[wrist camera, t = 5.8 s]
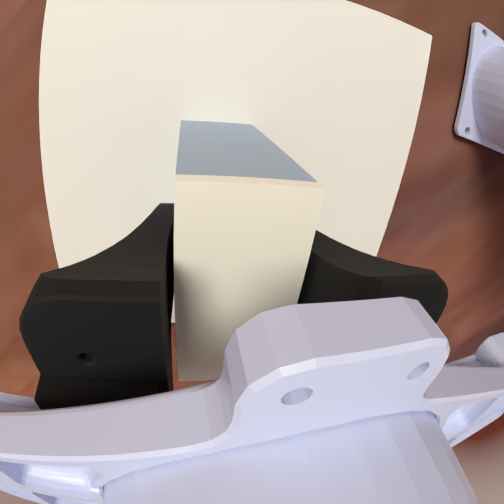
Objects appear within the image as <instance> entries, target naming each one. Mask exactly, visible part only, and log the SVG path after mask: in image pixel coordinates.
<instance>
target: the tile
mask: <svg viewBox="0 0 504 504" xmlns="http://www.w3.org/2000/svg"><path fill="white" fill-rule="evenodd" d="M431 40H432V36H431V35H429V34H427V33H425V32H423V31H421V30H419V29H417V28H415V27H413V26H410V25H408V24H406V23H404V22H402V21H399V20H397V19H395V18H392V17H390V16H387V15H385V14H382V13H380V12H377V11H375V10H372V9H369V8H367V7H364V6H361V5H358V4H355V3H352V2H349V1H346V0H47V4H46V10H45V17H44V25H43V34H42V44H41V57H40V76H39V125H40V144H41V158H42V169H43V178H44V187H45V194H46V202H47V208H48V215H49V221H50V226H51V232H52V237H53V242H54V247H55V252H56V257H57V261H58V265H59V268H63V267H66V266H69V265H72V264H75V263H77V262H80V261H83V260H85V259H87V258H90V257H92V256H94V255H96V254H98V253H100V252H102V251H103V250H105V249H107V248H109V247H111V246H113V245H114V244H116V243H117V242H119V241H120V240H122V239H123V238H125V237H126V236H127V235H129V234H130V233H131V232H132V231H133V230H134V229H136V228H137V227H138V226H139V225H140V224H141V223H142V222H143V221H144V220H145V219H146V218H147V217H148V216H149V215H150V214H151V213H152V211H153V210H154V209H155V208H156V207H157V206H158V205H159V204H160V203H174V196H175V175H176V164H177V153H178V143H179V134H180V125H181V120H188V121H210V122H226V123H239V124H251V125H253V126H254V127H255V128H257V129H258V130H259V131H260V132H261V133H263V134H264V135H265V136H266V137H267V138H269V139H270V140H271V141H272V142H273V143H274V144H276V145H277V146H278V147H279V148H280V149H281V150H283V151H284V152H285V153H286V154H287V155H288V156H289V157H291V158H292V159H293V160H294V161H295V162H296V163H297V164H298V165H300V166H301V167H302V168H303V169H304V170H305V171H306V172H307V173H308V174H310V175H311V176H312V177H313V178H314V179H315V180H316V181H317V182H318V183H319V184H320V185H322V186H323V187H324V188H325V192H324V197H323V201H322V206H321V210H320V215H319V219H318V223H317V227H316V230H317V231H319V232H321V233H323V234H325V235H326V236H328V237H330V238H332V239H334V240H336V241H338V242H340V243H342V244H345V245H347V246H349V247H351V248H354V249H356V250H359V251H361V252H364V253H367V254H370V255H372V256H375V257H376V255H377V253H378V250H379V247H380V244H381V241H382V238H383V236H384V233H385V230H386V227H387V224H388V221H389V218H390V215H391V212H392V208H393V205H394V202H395V199H396V196H397V192H398V189H399V186H400V182H401V179H402V175H403V172H404V168H405V165H406V161H407V157H408V153H409V150H410V146H411V142H412V138H413V134H414V130H415V125H416V121H417V117H418V112H419V108H420V103H421V98H422V93H423V88H424V83H425V77H426V72H427V66H428V60H429V54H430V47H431ZM171 323H175V304H174V299H173V309H172V319H171Z"/></svg>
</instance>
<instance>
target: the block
mask: <svg viewBox="0 0 504 504" xmlns="http://www.w3.org/2000/svg"><path fill="white" fill-rule="evenodd" d="M324 192H325V188H324V187H323V186H322V185H320V184H319V183H318V182H317V181H316V180H315V179H314V178H313V177H312V176H311V175H310V174H308V173H307V172H306V171H305V170H304V169H303V168H302V167H301V166H300V165H298V164H297V163H296V162H295V161H294V160H293V159H292V158H291V157H289V156H288V155H287V154H286V153H285V152H284V151H283V150H281V149H280V148H279V147H278V146H277V145H276V144H274V143H273V142H272V141H271V140H270V139H269V138H267V137H266V136H265V135H264V134H263V133H261V132H260V131H259V130H258V129H257V128H255V127H254V126H253V125H251V124H239V123H226V122H210V121H188V120H181V125H180V134H179V143H178V153H177V164H176V175H175V196H174V304H175V331H176V350H177V367H178V381H207V380H218V379H220V377H221V374H222V371H223V363H224V354H225V349H226V347H227V345H228V343H229V341H230V339H231V337H232V335H233V333H234V331H235V330H236V329H237V328H239V327H240V326H241V325H243V324H244V323H246V322H247V321H249V320H250V319H252V318H253V317H255V316H256V315H258V314H259V313H261V312H263V311H267V310H271V309H276V308H280V307H284V306H288V305H293V304H297V302H298V299H299V295H300V291H301V287H302V284H303V280H304V276H305V272H306V268H307V264H308V260H309V256H310V252H311V248H312V244H313V240H314V236H315V232H316V227H317V223H318V219H319V215H320V210H321V206H322V201H323V197H324Z"/></svg>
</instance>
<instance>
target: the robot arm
mask: <svg viewBox="0 0 504 504" xmlns="http://www.w3.org/2000/svg"><path fill="white" fill-rule="evenodd" d="M482 32H483V33H482ZM465 129H466V131H465ZM454 131H455V133H456V134H457V135H459V136H461V137H464V138H466V139H469V140H471V141H474V142H476V143H479V144H481V145H484V146H486V147H488V148H491V149H493V150H495V151H498V152H500V153H502V154H504V41H503V40H502V39H501V38H499V37H498V36H497V35H495V34H494V33H493V32H492V31H490V30H489V29H488V28H486V27H485V26H484V25H482V24H481V23H479V22H473V23H472V26H471V35H470V44H469V52H468V59H467V65H466V71H465V77H464V83H463V88H462V93H461V98H460V103H459V108H458V112H457V117H456V121H455V125H454ZM447 298H448V288H447V286H446V284H445V282H444V281H443V280H442V279H441V278H440V277H439V275H438V274H437V273H436V272H435V271H433V270H429V269H424V268H419V267H414V266H408V265H403V264H400V263H396V262H392V261H388V260H385V259H381V258H378V257H375V256H372V255H370V254H367V253H364V252H361V251H359V250H356V249H354V248H351V247H349V246H347V245H345V244H342V243H340V242H338V241H336V240H334V239H332V238H330V237H328V236H326V235H325V234H323V233H321V232H319V231H317V230H316V232H315V236H314V240H313V244H312V248H311V252H310V256H309V260H308V264H307V268H306V272H305V276H304V280H303V284H302V287H301V291H300V295H299V299H298V302H297V304H293V305H288V306H284V307H280V308H276V309H271V310H267V311H263V312H261V313H259V314H258V315H256V316H255V317H253V318H252V319H250V320H249V321H247V322H246V323H244V324H243V325H241V326H240V327H239V328H237V329H236V330H235V331H234V333H233V335H232V337H231V339H230V341H229V343H228V345H227V347H226V349H225V354H224V363H223V371H222V374H221V377H220V379H218V380H217V381H214V382H209V383H205V384H201V385H197V386H192V387H188V388H183V389H179V390H174V391H173V376H172V353H171V319H172V309H173V299H174V203H160V204H159V205H158V206H157V207H156V208H155V209H154V210H153V211H152V213H151V214H150V215H149V216H148V217H147V218H146V219H145V220H144V221H143V222H142V223H141V224H140V225H139V226H138V227H137V228H136V229H134V230H133V231H132V232H131V233H130V234H129V235H127V236H126V237H125V238H123V239H122V240H120V241H119V242H117V243H116V244H114V245H113V246H111V247H109V248H107V249H105V250H103V251H102V252H100V253H98V254H96V255H94V256H92V257H90V258H87V259H85V260H83V261H80V262H77V263H75V264H72V265H69V266H66V267H63V268H59V269H56V270H52V271H49V272H45V273H41V275H40V276H39V278H38V280H37V281H36V283H35V285H34V287H33V289H32V291H31V293H30V296H29V298H28V300H27V302H26V305H25V307H24V309H23V311H22V314H21V316H20V331H21V335H22V338H23V340H24V342H25V344H26V347H27V349H28V351H29V353H30V355H31V357H32V359H33V361H34V362H35V364H36V366H37V368H38V370H39V372H40V374H41V375H40V378H39V382H38V386H37V391H36V395H35V398H31V397H25V396H19V395H13V394H8V393H3V392H0V490H1V491H4V492H7V493H9V494H12V495H15V496H18V497H21V498H24V499H27V500H30V501H34V502H37V503H40V504H479V503H478V500H477V498H476V496H475V494H474V492H473V490H472V488H471V486H470V484H469V482H468V480H467V477H466V475H465V473H464V471H463V469H462V467H461V465H460V464H459V462H458V460H457V458H456V456H455V454H454V452H453V450H452V448H451V447H453V446H454V445H456V444H458V443H459V442H461V441H463V440H464V439H466V438H468V437H469V436H471V435H472V434H474V433H475V432H477V431H478V430H480V429H482V428H483V427H485V426H486V425H488V424H489V423H491V422H492V421H494V420H495V419H497V418H498V417H499V416H501V415H502V414H503V413H504V332H501V333H498V334H496V335H493V336H490V337H488V338H486V339H485V340H484V341H483V342H482V343H481V344H480V346H479V347H478V349H477V350H476V352H475V354H474V355H471V356H468V357H465V358H462V359H459V360H456V361H453V362H450V363H447V364H445V362H446V360H447V358H448V356H449V352H450V347H449V344H448V340H447V338H446V337H445V335H444V334H443V333H442V331H441V330H440V329H439V327H438V326H437V325H436V323H437V321H438V319H439V318H440V316H441V314H442V312H443V310H444V308H445V306H446V302H447Z"/></svg>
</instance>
